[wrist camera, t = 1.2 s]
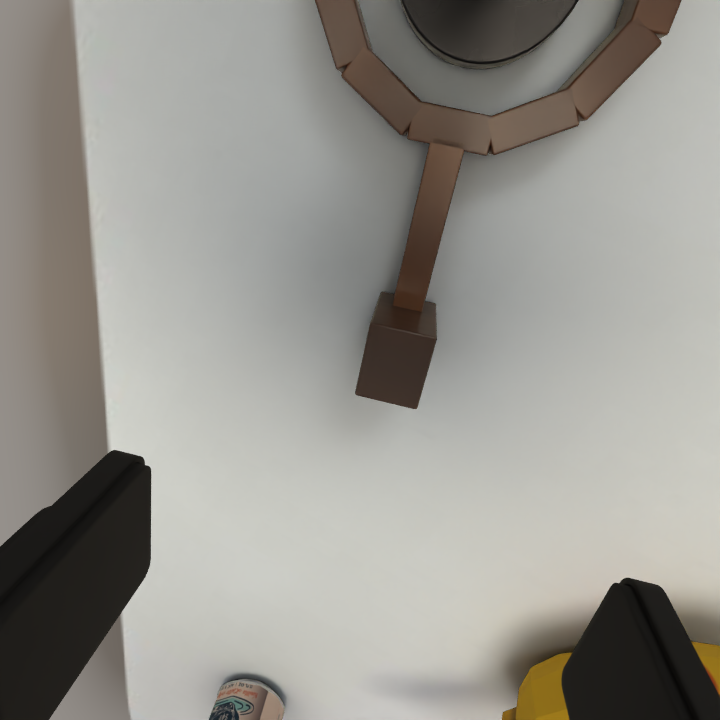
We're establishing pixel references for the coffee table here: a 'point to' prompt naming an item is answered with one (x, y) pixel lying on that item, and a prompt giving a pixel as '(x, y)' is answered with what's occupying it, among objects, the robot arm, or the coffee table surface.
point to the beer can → (247, 702)
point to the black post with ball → (485, 28)
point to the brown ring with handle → (446, 147)
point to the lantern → (545, 696)
